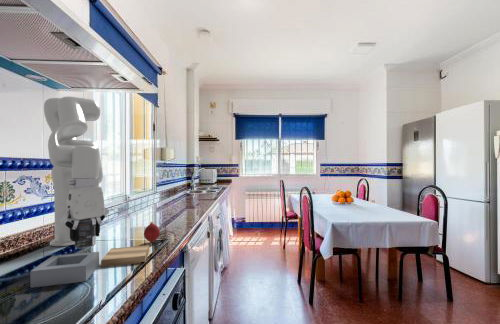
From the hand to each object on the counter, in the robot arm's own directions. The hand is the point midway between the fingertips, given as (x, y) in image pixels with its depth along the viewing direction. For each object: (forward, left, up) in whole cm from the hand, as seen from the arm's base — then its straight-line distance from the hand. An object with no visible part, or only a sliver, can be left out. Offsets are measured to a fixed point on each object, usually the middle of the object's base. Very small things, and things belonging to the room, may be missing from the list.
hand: (85, 237), depth 88 cm
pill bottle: (0, 0, -3) cm, 3 cm away
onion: (-11, +20, -6) cm, 23 cm away
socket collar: (+16, +1, -6) cm, 17 cm away
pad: (+6, +14, -6) cm, 16 cm away
